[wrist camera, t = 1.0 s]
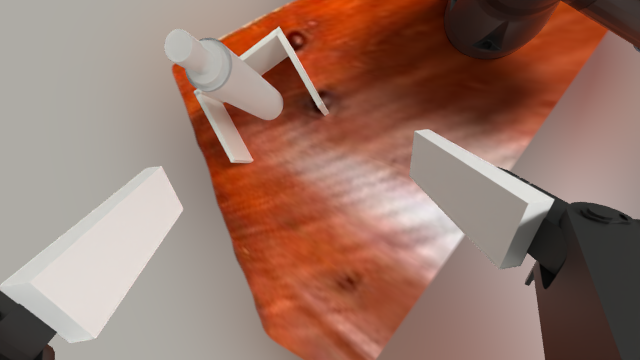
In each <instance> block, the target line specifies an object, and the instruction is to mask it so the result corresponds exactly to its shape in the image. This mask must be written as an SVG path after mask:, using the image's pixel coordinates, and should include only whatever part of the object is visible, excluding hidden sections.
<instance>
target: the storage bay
mask: <svg viewBox="0 0 640 360" xmlns="http://www.w3.org/2000/svg"><path fill="white" fill-rule="evenodd" d="M288 56H289V57H290V59H291V61H292V62H293V64H294V66H295V68H296V69H297V71H298V73H299V75H300V76H301V78H302V80H303V82H304V84H305V85H306V87H307V89H308V91H309V92H310V94H311V96H312V98H313V100H314V101H315V103H316V105H317V107H318V108H319V109H320V110H321V112H322V113H323V114H324V115H325V116H326V115H327V114H329V112H328V110H327V108H326V107H325V105H324V103H323V101H322V100H321V98H320V96H319V94H318V92H317V91H316V89H315V87H314V85H313V84H312V82H311V80H310V78H309V77H308V75H307V73H306V71H305V70H304V68H303V66H302V64H301V62H300V61H299V59H298V57H297V55H296V54H295V52H294V50H293V48H292V47H291V45H290V43H289V42H288V40H287V39H286V37H285V35H284V34H283V32H282V30H281V29H280V27H278V28H277V29H275V30H274V31H273V32H271V33H270V34H269V35H267V36H266V37H265V38H263V39H262V40H261V41H259V42H258V43H257V44H256V45H254V46H253V47H252V48H250V49H249V50H248V51H246V52H245V53H244V54H242V55H241V56H240V57H239V58H240V59H241V60H243V61H244V62H245V63H246V64H247V65H248V66H250V67H251V68H252V69H253V70H254V71H255V72H257V73H258V74H259V75H260V76H262V75H263V74H264V73H266V72H267V71H269V70H270V69H271V68H273V67H274V66H275V65H277V64H278V63H280V62H281V61H282V60H284V59H285V58H287V57H288ZM194 94H195V96H196V97H197V99H198V101H199V103H200V105H201V107H202V109H203V111H204V112H205V114H206V116H207V118H208V120H209V122H210V124H211V126H212V127H213V129H214V131H215V133H216V135H217V137H218V139H219V141H220V142H221V144H222V146H223V148H224V150H225V152H226V154H227V156H228V157H229V159H230V161H231V163H251V162H253V161H254V160H253V159H252V157H251V155H250V153H249V151H248V149H247V147H246V146H245V144H244V142H243V140H242V138H241V136H240V134H239V133H238V131H237V129H236V127H235V125H234V123H233V122H232V120H231V118H230V116H229V114H228V112H227V110H226V109H225V107H224V105H223V103H224V101H222V100H220V99H218V98H216V97H214V96H212V95H210V94H208V93H205V92H203V91H201V90H199V89H196V90H195V91H194Z"/></svg>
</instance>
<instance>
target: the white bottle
mask: <svg viewBox="0 0 640 360" xmlns="http://www.w3.org/2000/svg"><path fill="white" fill-rule="evenodd" d="M207 40H208V41H207ZM215 40H216V39H213V38H205V39H201V40H199V41H198V40H197V39H195V38H194V37H193V36H192V35H190V34H189V33H188V32H186V31H185V30H182V29H176V30H174V31H172V32H171V33H170V34H169V35H168V36H167V38H166V40H165V45H164V49H165V53H166V55H167V57H168V58H169V59H170V60H171V61H173V62H174V63H176V64H178V65H180V66H181V67H183V68H185V71H186V75H187V78H188V80H189V81H190V83H191V84H192V85H193V84H194V85H195V86H196V87H197V89H199V90H201V91H203V92H205V93H208V94H210V95H212V96H214V97H216V98H218V99H220V100H222V101H224V102H227V103H229V104H231V105H233V106H235V107H237V108H240V109H242V110H244V111H246V112H248V113H250V114H252V115H255V116H257V117H259V118H261V119H264V120H272V119H275V118H276V117H278V116H279V115H280V113H281V111H282V109H283V98H282V96H281V94H280V93H279V92H278V91H277V90H276V89H275V88H274V87H273V86H272V85H270V84H269V83H268V82H267V81H266V80H265V79H263V78H262V77H261V76H260V75H259V74H258V73H257V72H255V71H254V70H253V69H252V68H251V67H250V66H248V65H247V64H246V63H245V62H244V61H243V60H241V59H240V58H239V57H238V56H237V55H236V54H234V53H233V52H232V51H231V50H230V49H228V48H227V47H226V46H225V45H224V44H223V43H221V42H220V41H219V40H216V41H215ZM218 41H219V42H218ZM189 77H190V78H189ZM190 79H191V80H190ZM191 81H192V82H191ZM194 85H193V86H194ZM195 86H194V87H195ZM196 87H195V88H196Z"/></svg>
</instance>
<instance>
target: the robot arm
mask: <svg viewBox="0 0 640 360" xmlns="http://www.w3.org/2000/svg"><path fill="white" fill-rule="evenodd" d="M561 1H563V2H565V3H566V4H568V5H570V6H571V7H573V8H575V9H576V10H578V11H579V12H581V13H582V14H584V15H585V16H587V17H589V18H590V19H592V20H594V21H595V22H597V23H598V24H600V25H602V26H603V27H605V28H607V29H608V30H610V31H611V32H613V33H615V34H616V35H618V36H620V37H621V38H623V39H625V40H626V41H628V42H629V43H631V44H633V46H634V48H635V49H636V50H637V51H638V52H640V0H561ZM559 2H560V0H449V1H448V3H447V6H446V9H445V15H444V26H445V31H446V34H447V36H448V38H449V40H450V42H451V43H452V44H453V46H454V47H455V48H457V49H458V50H459V51H460V52H462V53H464V54H465V55H468V56H470V57H474V58H479V59H494V58H499V57H503V56H506V55H508V54H511V53H513V52H515V51H516V50H518V49H520V48H521V47H522V46H524V45H525V44H526V43H527V42H529V41H530V40H531V39H533V38H534V37H535V36H536V35H537V34H538V33H539V32H540V31H541V30H542V28H543V27H544V26H545V24H546V23H547V21H548V20H549V18H550V17H551V15H552V13H553V12H554V10H555V9H556V7H557V5H558V4H559ZM409 176H410V177H411V178H412V179H413V180H414V182H415V183H416V184H417V185H418V186H419V187H420V188H421V189H422V190H423V191H424V192H425V193H426V194H427V195H428V196H429V197H430V198H431V199H432V200H433V201H434V202H435V203H436V204H437V205H438V207H439V208H440V209H441V210H442V211H443V212H444V213H445V214H446V215H447V216H448V217H449V218H450V219H451V220H452V221H453V222H454V223H455V224H456V225H457V226H458V227H459V228H460V229H461V230H462V232H463V233H464V234H465V235H466V236H467V237H468V238H469V239H470V240H471V241H472V242H473V243H474V244H475V245H476V246H477V247H478V248H479V249H480V250H481V251H482V252H483V253H484V254H485V255H486V257H487V258H488V259H489V260H490V261H491V262H492V263H493V264H494V265H495V266H496V267H497V268H498V269H505V268H511V267H517V266H521V264H522V262H523V260H524V258H525V256H526V254H527V253H528V254H530V255H531V256H532V257H533V258H534V259H535V260H537V261H536V263H535V264H534V266H533V268H532V270H531V271H530V273H529V275H528V277H527V279H526V281H525V284H526V285H528V286H529V285H530V283H531V282H532V281H533V280H535V288H536V294H537V302H538V310H539V317H540V324H541V332H542V339H543V346H544V354H545V360H640V220H638V219H632V218H631V217H630V216H628V215H626V214H624V213H622V212H620V211H618V210H615V209H612V208H610V207H607V206H603V205H599V204H594V203H587V202H574V203H571V204H568V203H567V202H565V201H563V200H561V199H559V198H558V197H556V196H554V195H552V194H550V193H548V192H546V191H545V190H543V189H541V188H539V187H537V186H536V185H533V184H530V183H529V182H528V181H526V180H525V179H523V178H519V176H517V175H515V174H513V173H512V172H510V171H508V170H505V169H502V168H499V167H496V166H494V165H492V164H490V163H488V162H487V161H485V160H483V159H481V158H479V157H478V156H476V155H474V154H472V153H470V152H469V151H467V150H465V149H463V148H461V147H460V146H458V145H456V144H454V143H452V142H451V141H449V140H447V139H445V138H443V137H442V136H440V135H438V134H436V133H434V132H433V131H431V130H429V129H425V130H418V131H414V139H413V148H412V157H411V166H410V174H409ZM182 211H183V207H182V205H181V203H180V201H179V199H178V197H177V195H176V193H175V191H174V189H173V188H172V186H171V184H170V182H169V180H168V178H167V176H166V174H165V172H164V170H163V168H162V166H157V167H150V168H145V169H144V170H143V171H142V172H140V173H139V174H138V175H137V176H135V177H134V178H133V179H132V180H131V181H130V182H128V183H127V184H125V185H124V186H123V187H122V188H120V189H119V190H118V191H117V192H115V193H114V194H113V195H112V196H110V197H109V198H108V199H107V200H105V201H104V202H103V203H102V204H100V205H99V206H98V207H97V208H96V209H94V210H93V211H92V212H90V213H89V214H88V215H87V216H85V217H84V218H83V219H82V220H81V221H79V222H78V223H77V224H75V225H74V226H73V227H72V228H70V229H69V230H68V231H67V232H65V233H64V234H63V235H62V236H60V237H59V238H58V239H57V240H55V241H54V242H53V243H52V244H50V245H49V246H48V247H47V248H46V249H44V250H43V251H42V252H41V253H39V254H38V255H37V256H36V257H34V258H33V259H32V260H31V261H29V262H28V263H27V264H26V265H24V266H23V267H22V268H21V269H19V270H18V271H17V272H16V273H14V274H13V275H12V276H11V277H9V278H8V279H7V280H6V281H4V282H3V283H2V284H1V285H0V360H55V352H54V350H53V348H52V347H51V346H49V345H48V343H49V341H50V340H51V339H52V338H53V337H54V335H55V334H56V333H57V334H59V335H60V336H61V337H63V338H64V339H65V340H66V341H68V342H69V343H74V342H80V341H86V340H92V339H96V338H97V336H98V335H99V333H100V332H101V330H102V329H103V327H104V326H105V325H106V323H107V322H108V320H109V319H110V317H111V316H112V314H113V313H114V311H115V310H116V308H117V307H118V305H119V304H120V302H121V301H122V299H123V298H124V297H125V295H126V294H127V292H128V291H129V289H130V288H131V286H132V285H133V283H134V282H135V280H136V279H137V277H138V276H139V275H140V273H141V272H142V270H143V269H144V267H145V266H146V264H147V263H148V261H149V260H150V258H151V257H152V255H153V254H154V252H155V251H156V249H157V248H158V246H159V245H160V243H161V242H162V241H163V239H164V238H165V236H166V235H167V233H168V232H169V230H170V229H171V227H172V226H173V224H174V223H175V221H176V220H177V219H178V217H179V215H180V214H181V213H182Z"/></svg>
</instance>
